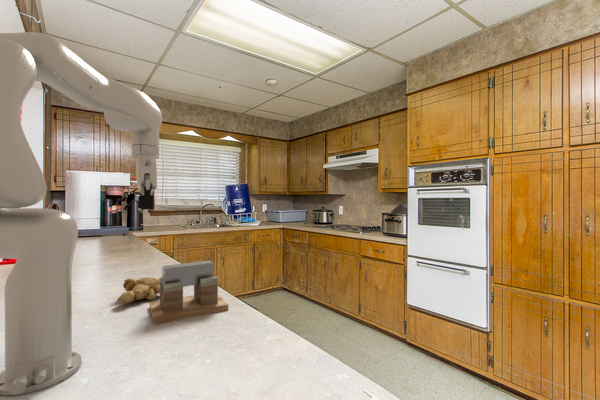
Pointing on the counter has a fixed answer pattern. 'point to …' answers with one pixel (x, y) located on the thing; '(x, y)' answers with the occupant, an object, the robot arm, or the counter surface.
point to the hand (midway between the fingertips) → (145, 208)
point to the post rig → (187, 301)
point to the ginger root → (140, 289)
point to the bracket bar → (187, 272)
